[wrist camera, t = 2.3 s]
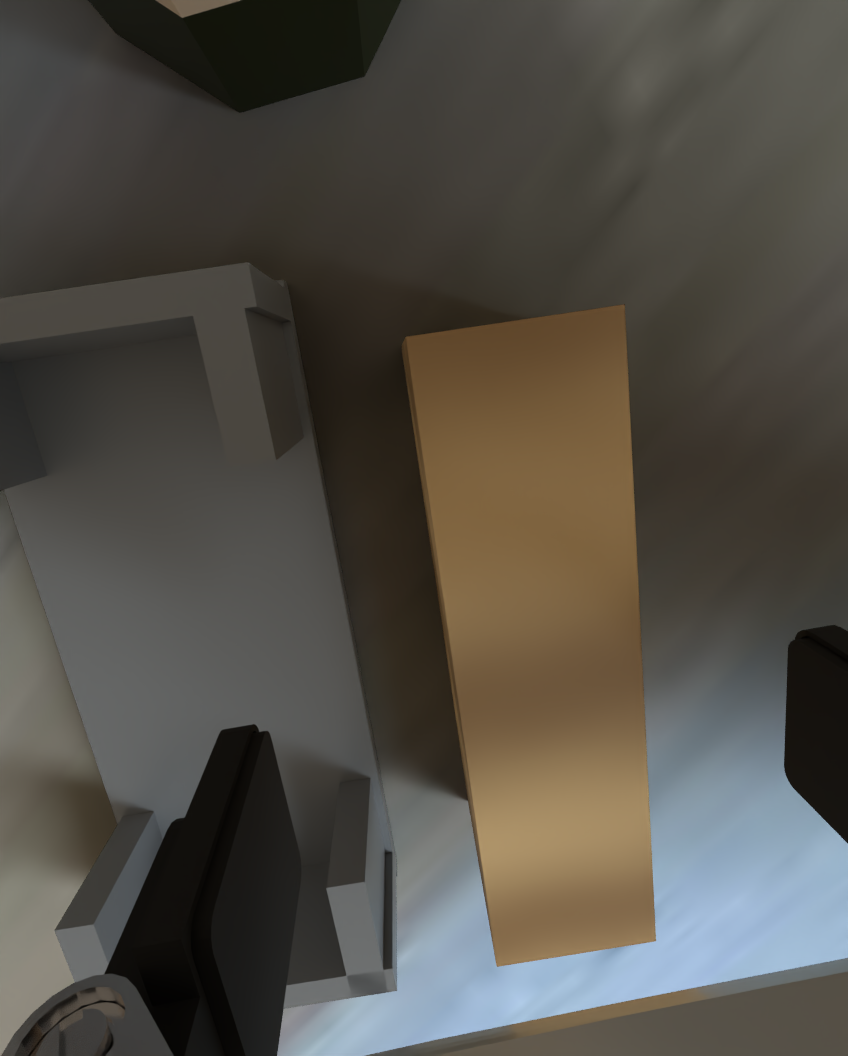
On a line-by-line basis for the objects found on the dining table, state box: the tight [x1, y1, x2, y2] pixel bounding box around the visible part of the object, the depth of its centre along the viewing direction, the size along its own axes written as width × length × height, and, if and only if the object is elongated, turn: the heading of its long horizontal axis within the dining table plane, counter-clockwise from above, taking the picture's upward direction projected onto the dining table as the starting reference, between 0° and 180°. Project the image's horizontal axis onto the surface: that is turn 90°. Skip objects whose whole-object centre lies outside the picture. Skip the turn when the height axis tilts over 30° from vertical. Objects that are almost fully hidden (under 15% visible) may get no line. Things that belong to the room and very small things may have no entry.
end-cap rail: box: [0, 262, 397, 1009], centre depth 16 cm, size 19×8×5 cm, turn 8°
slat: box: [401, 304, 656, 967], centre depth 16 cm, size 15×4×6 cm, turn 8°
